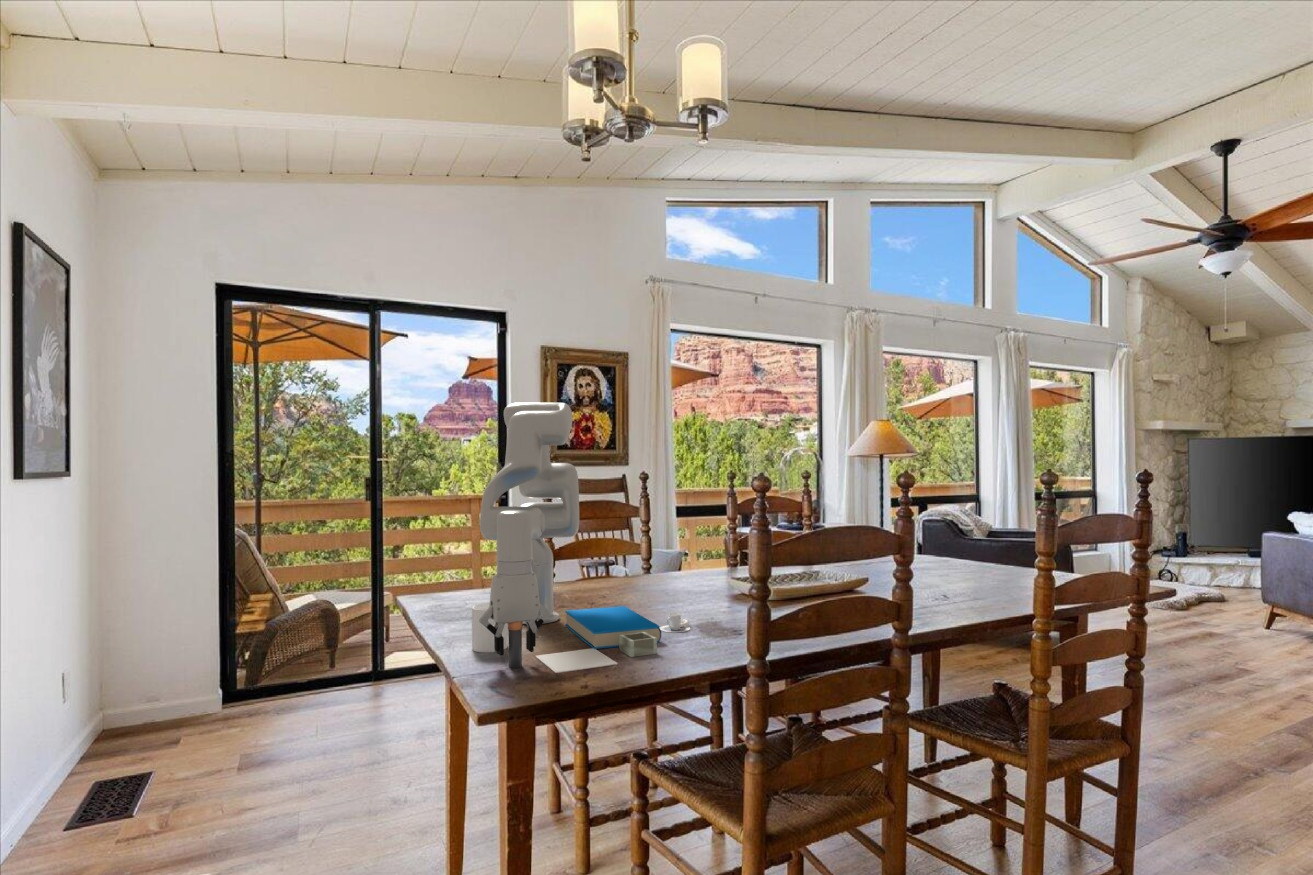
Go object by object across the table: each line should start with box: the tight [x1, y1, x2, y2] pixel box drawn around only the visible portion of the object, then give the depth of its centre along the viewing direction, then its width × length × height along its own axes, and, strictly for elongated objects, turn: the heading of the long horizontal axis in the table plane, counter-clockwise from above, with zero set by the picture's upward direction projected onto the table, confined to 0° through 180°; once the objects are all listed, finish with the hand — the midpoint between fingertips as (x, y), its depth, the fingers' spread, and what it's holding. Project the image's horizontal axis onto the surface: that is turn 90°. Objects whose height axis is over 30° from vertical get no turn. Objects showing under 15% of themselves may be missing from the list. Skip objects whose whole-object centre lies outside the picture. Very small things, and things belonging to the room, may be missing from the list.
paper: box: [534, 647, 619, 674], centre depth 169 cm, size 14×14×1 cm
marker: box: [508, 622, 523, 669], centre depth 166 cm, size 3×3×10 cm
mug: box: [471, 602, 509, 654], centre depth 179 cm, size 8×12×10 cm
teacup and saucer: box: [659, 612, 691, 633], centre depth 198 cm, size 9×8×4 cm
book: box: [564, 605, 662, 650], centre depth 193 cm, size 17×4×25 cm
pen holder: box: [618, 632, 658, 658], centre depth 176 cm, size 6×6×4 cm
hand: (515, 651), depth 166 cm, fingers open, 5 cm apart
